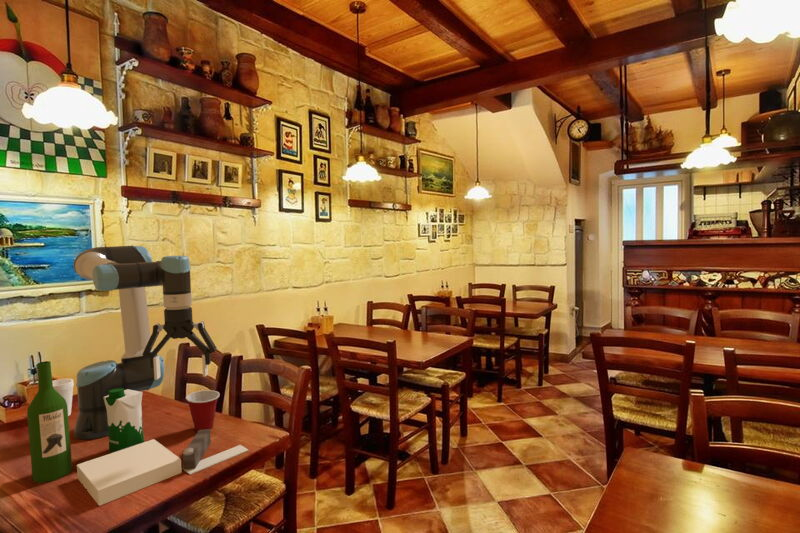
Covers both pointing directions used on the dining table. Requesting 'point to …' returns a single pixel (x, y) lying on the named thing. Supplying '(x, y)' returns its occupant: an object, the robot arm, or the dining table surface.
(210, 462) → the mat
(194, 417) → the plastic cup
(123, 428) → the milk carton
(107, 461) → the cream flat square box
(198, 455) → the dark grey block
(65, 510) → the dining table surface
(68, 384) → the foam cup
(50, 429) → the wine bottle
